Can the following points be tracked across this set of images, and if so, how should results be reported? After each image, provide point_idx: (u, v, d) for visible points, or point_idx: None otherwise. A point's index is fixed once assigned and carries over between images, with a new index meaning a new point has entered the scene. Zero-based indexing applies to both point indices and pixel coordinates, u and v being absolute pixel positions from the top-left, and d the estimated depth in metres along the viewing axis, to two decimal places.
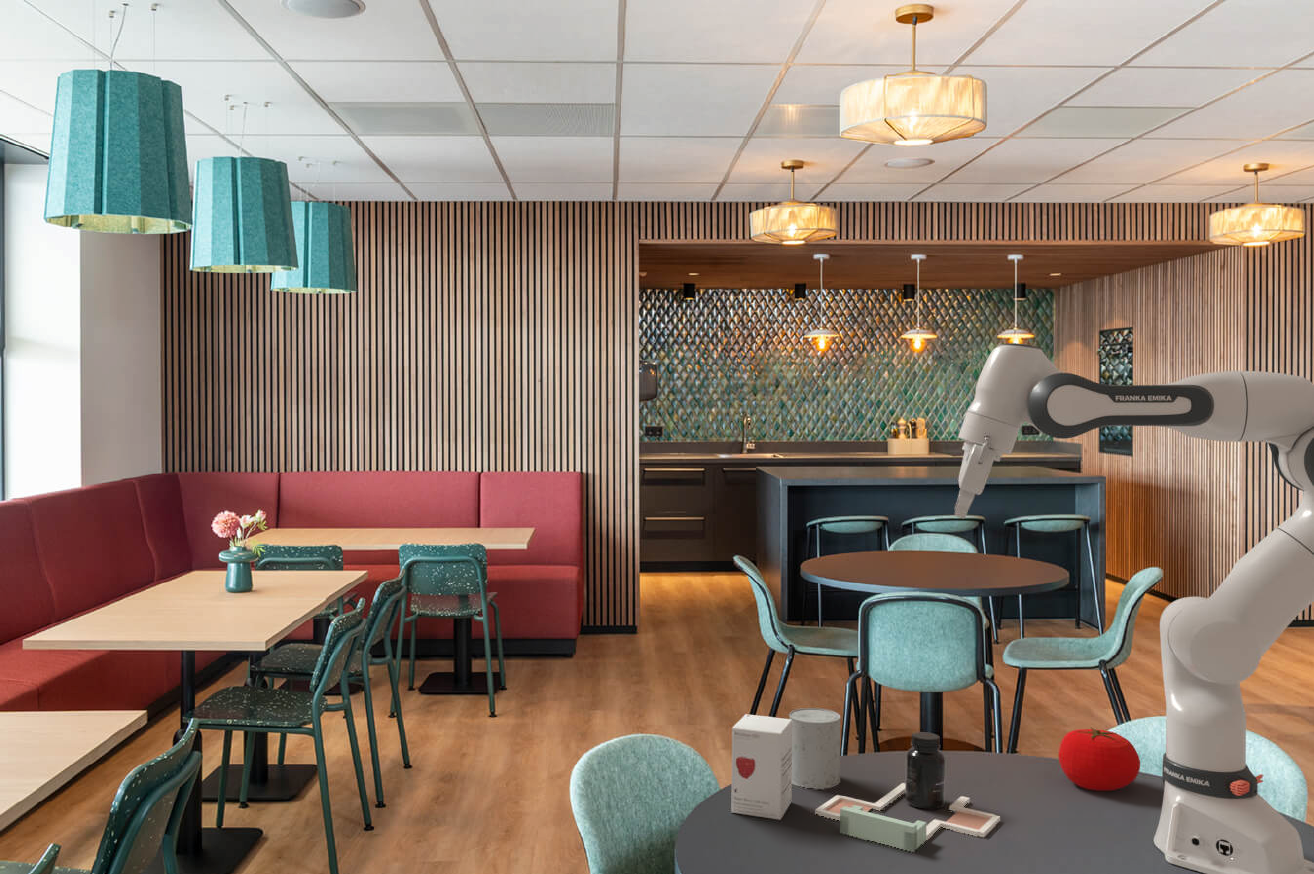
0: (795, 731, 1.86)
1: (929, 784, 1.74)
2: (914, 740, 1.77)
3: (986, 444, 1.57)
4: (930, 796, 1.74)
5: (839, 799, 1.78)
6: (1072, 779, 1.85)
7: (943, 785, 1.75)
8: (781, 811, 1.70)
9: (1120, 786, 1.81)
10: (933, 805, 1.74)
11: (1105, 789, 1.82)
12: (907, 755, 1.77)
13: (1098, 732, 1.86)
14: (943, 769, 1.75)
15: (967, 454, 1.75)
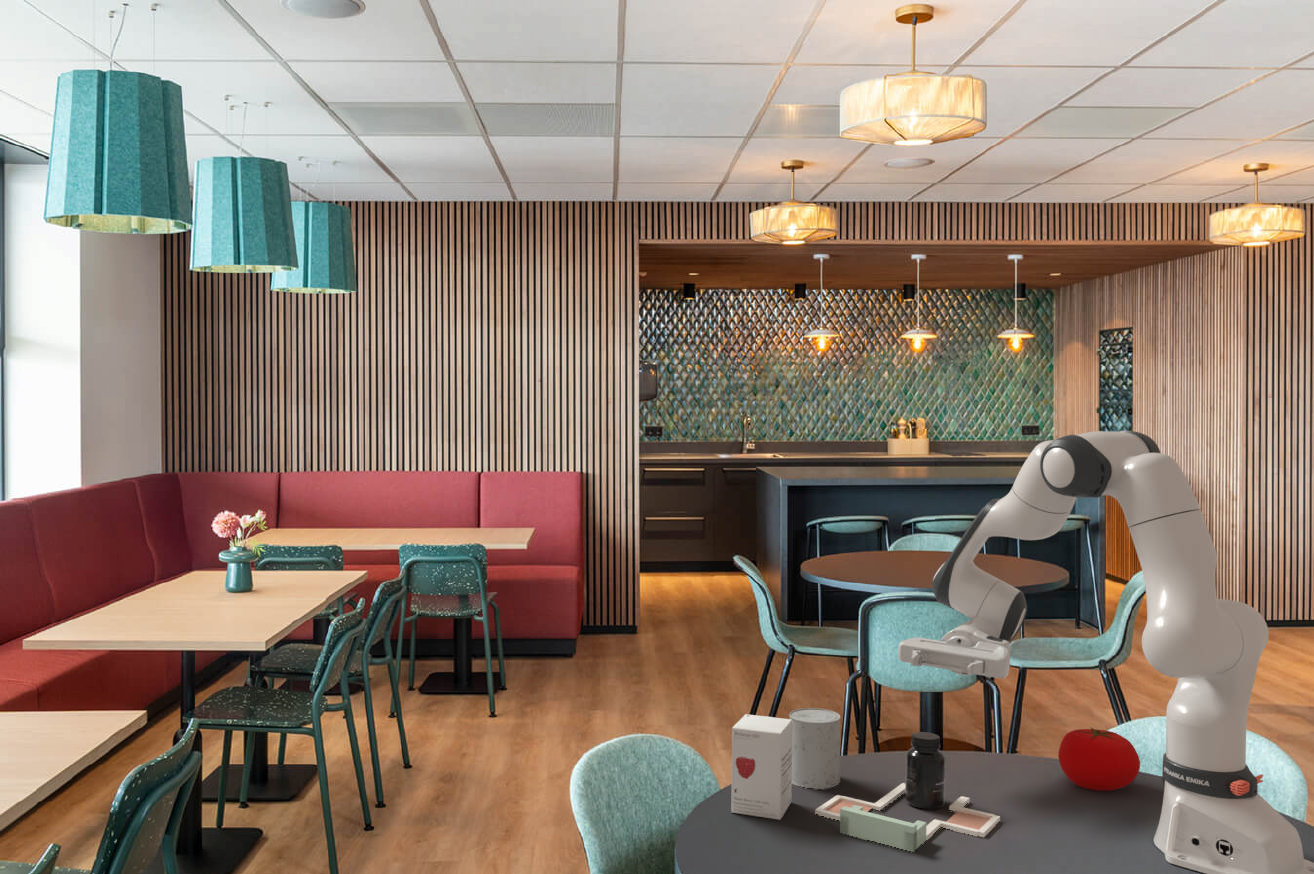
0: (795, 731, 1.86)
1: (929, 784, 1.74)
2: (914, 740, 1.77)
3: None
4: (930, 796, 1.74)
5: (839, 799, 1.78)
6: (1072, 779, 1.85)
7: (943, 785, 1.75)
8: (781, 811, 1.70)
9: (1120, 786, 1.81)
10: (933, 805, 1.74)
11: (1105, 789, 1.82)
12: (907, 755, 1.77)
13: (1098, 732, 1.86)
14: (943, 769, 1.75)
15: None
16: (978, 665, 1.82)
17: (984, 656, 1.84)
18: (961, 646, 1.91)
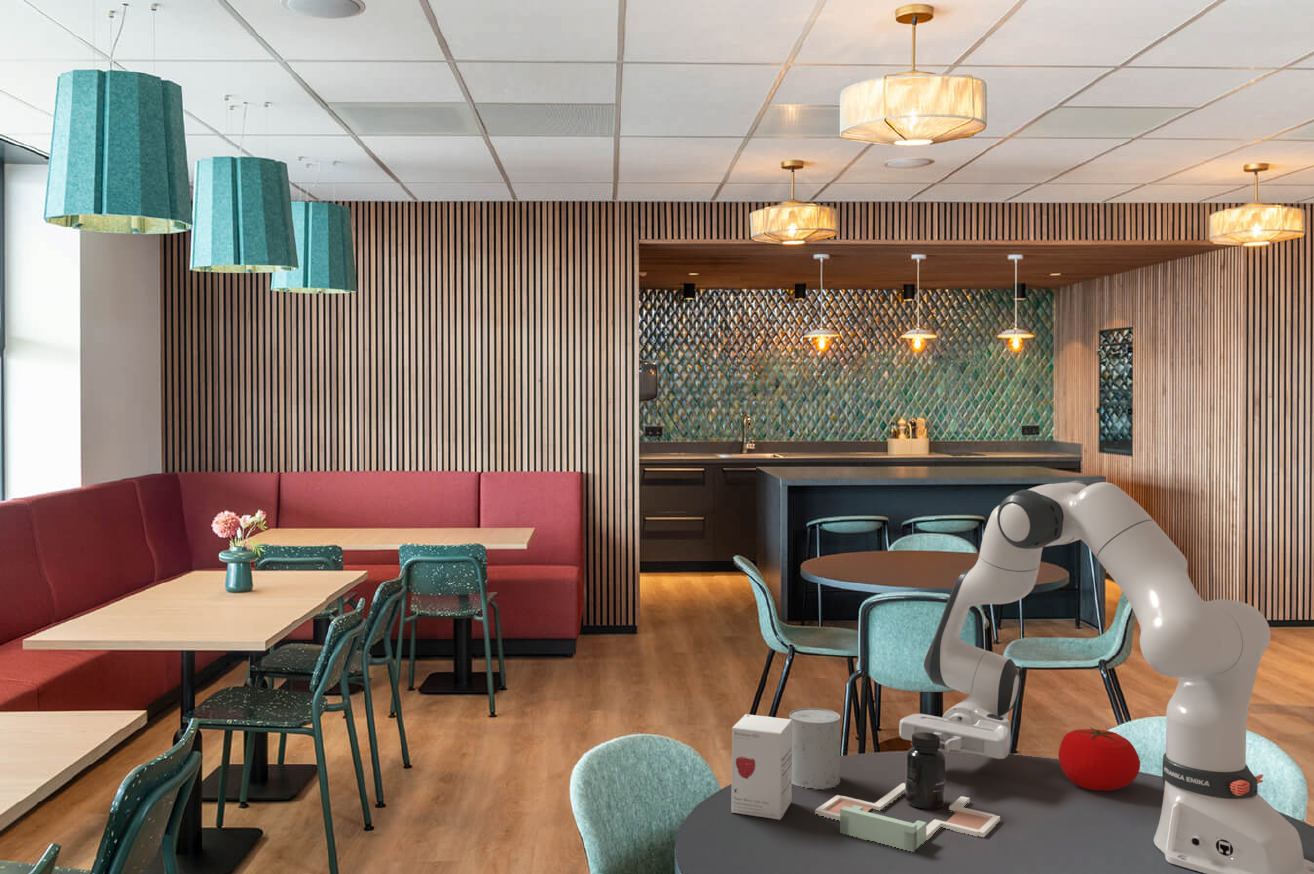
0: (795, 731, 1.86)
1: (929, 784, 1.74)
2: (914, 740, 1.77)
3: None
4: (930, 796, 1.74)
5: (839, 799, 1.78)
6: (1072, 779, 1.85)
7: (943, 785, 1.75)
8: (781, 811, 1.70)
9: (1120, 786, 1.81)
10: (933, 805, 1.74)
11: (1105, 789, 1.82)
12: (907, 755, 1.77)
13: (1098, 732, 1.86)
14: (943, 769, 1.75)
15: None
16: (956, 741, 1.85)
17: (983, 736, 1.84)
18: (962, 724, 1.92)
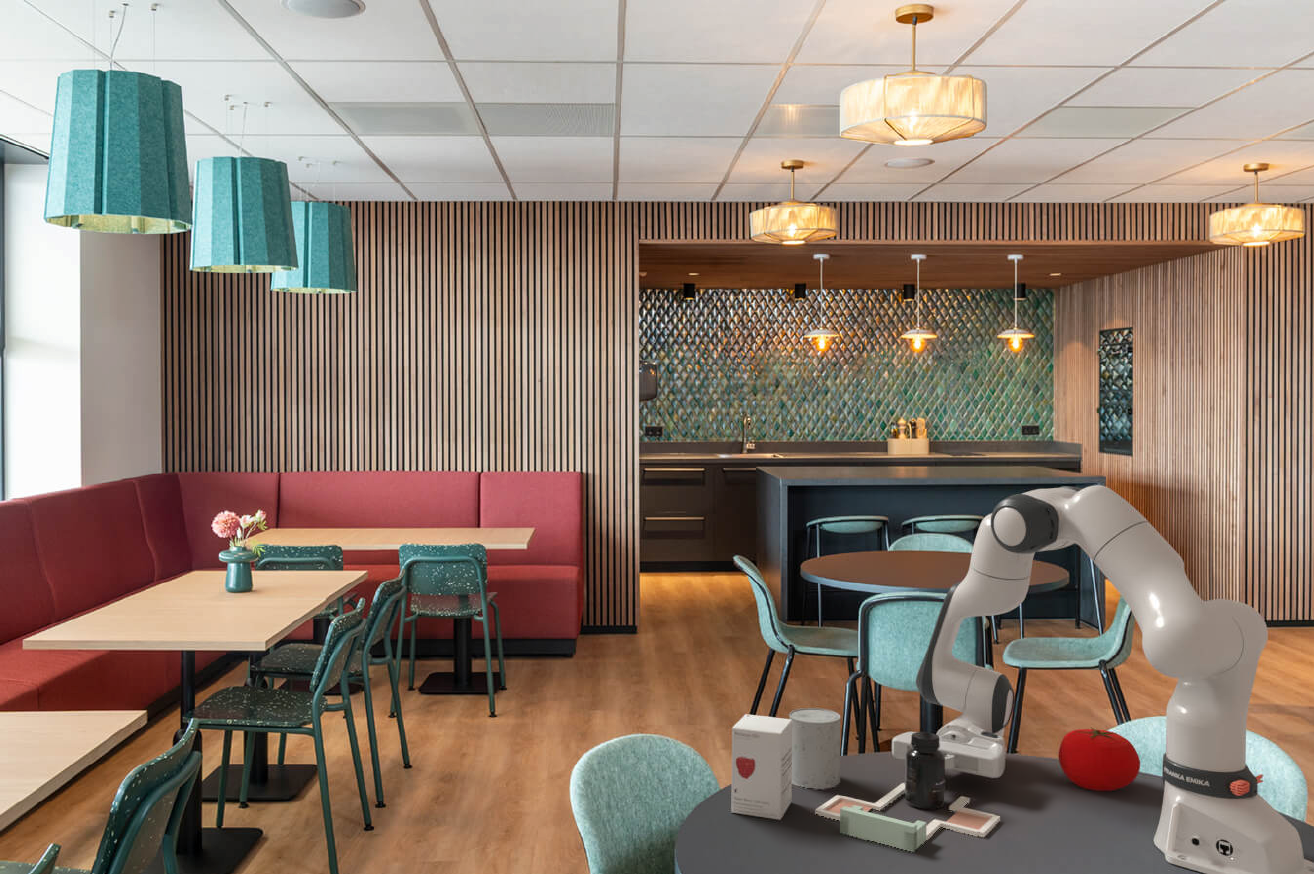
0: (795, 731, 1.86)
1: (929, 784, 1.74)
2: (914, 740, 1.77)
3: None
4: (930, 796, 1.74)
5: (839, 799, 1.78)
6: (1072, 779, 1.85)
7: (943, 785, 1.75)
8: (781, 811, 1.70)
9: (1120, 786, 1.81)
10: (933, 805, 1.74)
11: (1105, 789, 1.82)
12: (907, 755, 1.77)
13: (1098, 732, 1.86)
14: (943, 769, 1.75)
15: None
16: (949, 760, 1.81)
17: (977, 754, 1.81)
18: (955, 742, 1.88)
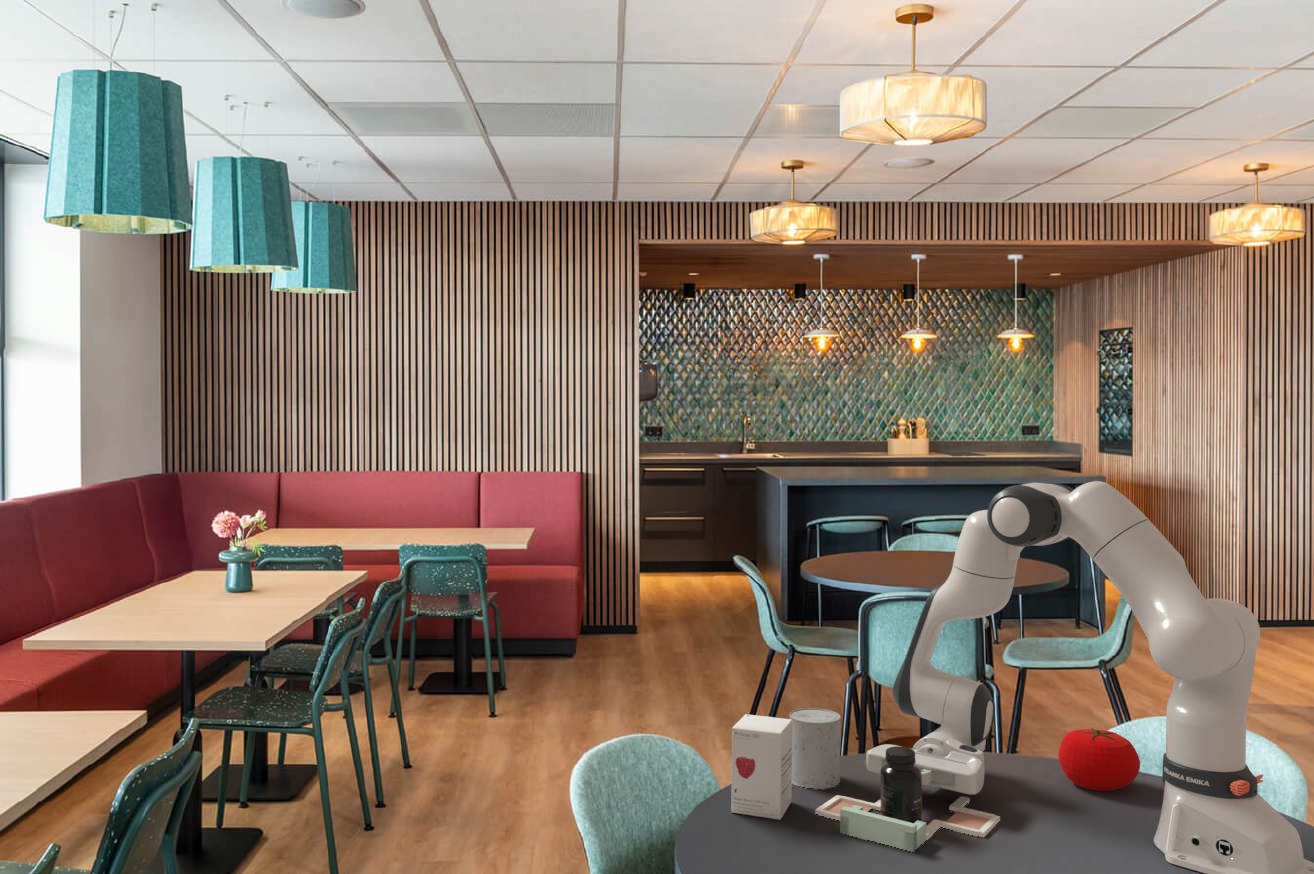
0: (795, 731, 1.86)
1: (907, 802, 1.65)
2: (889, 757, 1.67)
3: None
4: (909, 815, 1.66)
5: (839, 799, 1.78)
6: (1072, 779, 1.85)
7: (920, 801, 1.67)
8: (781, 811, 1.70)
9: (1120, 786, 1.81)
10: None
11: (1105, 789, 1.82)
12: (882, 773, 1.68)
13: (1098, 732, 1.86)
14: (920, 785, 1.67)
15: None
16: (925, 775, 1.73)
17: (954, 770, 1.72)
18: (932, 756, 1.79)
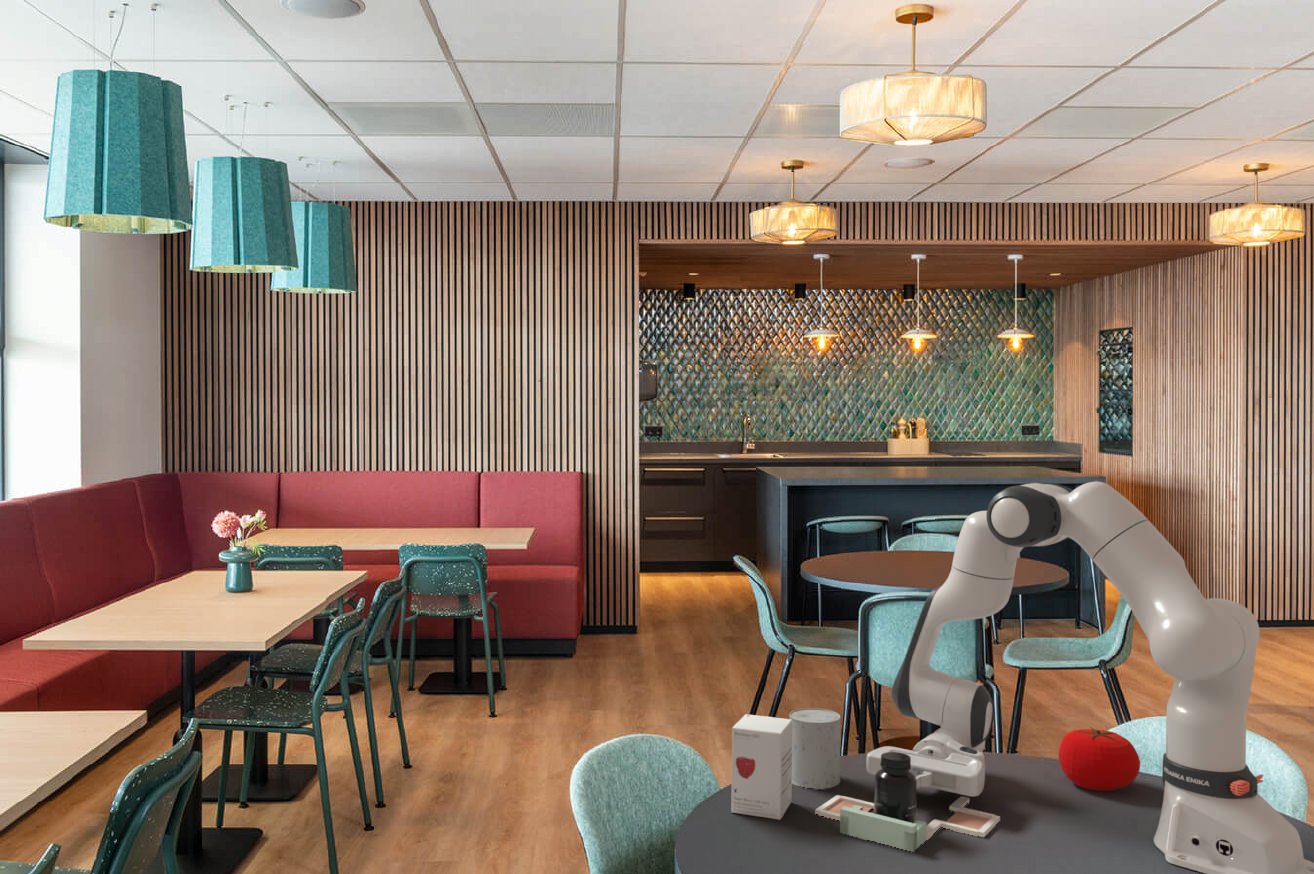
0: (795, 731, 1.86)
1: (901, 808, 1.63)
2: (884, 761, 1.66)
3: None
4: None
5: (839, 799, 1.78)
6: (1072, 779, 1.85)
7: (915, 808, 1.65)
8: (781, 811, 1.70)
9: (1120, 786, 1.81)
10: None
11: (1105, 789, 1.82)
12: (877, 778, 1.66)
13: (1098, 732, 1.86)
14: (915, 791, 1.65)
15: None
16: (926, 778, 1.72)
17: (955, 772, 1.72)
18: (933, 758, 1.79)
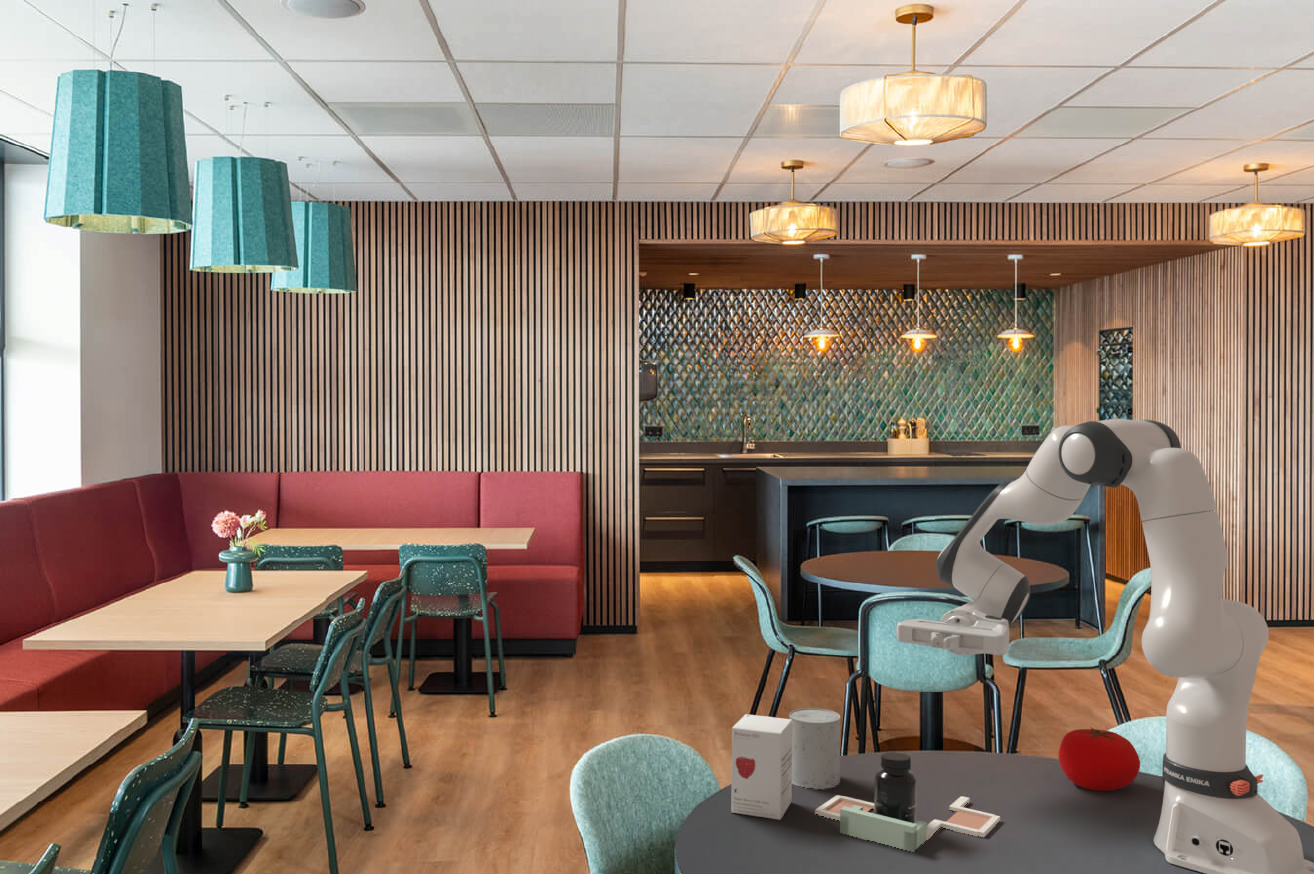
0: (795, 731, 1.86)
1: (901, 808, 1.63)
2: (884, 761, 1.66)
3: None
4: None
5: (839, 799, 1.78)
6: (1072, 779, 1.85)
7: (915, 808, 1.65)
8: (781, 811, 1.70)
9: (1120, 786, 1.81)
10: None
11: (1105, 789, 1.82)
12: (877, 778, 1.66)
13: (1098, 732, 1.86)
14: (915, 791, 1.65)
15: None
16: (954, 639, 1.82)
17: (982, 633, 1.82)
18: (960, 625, 1.89)
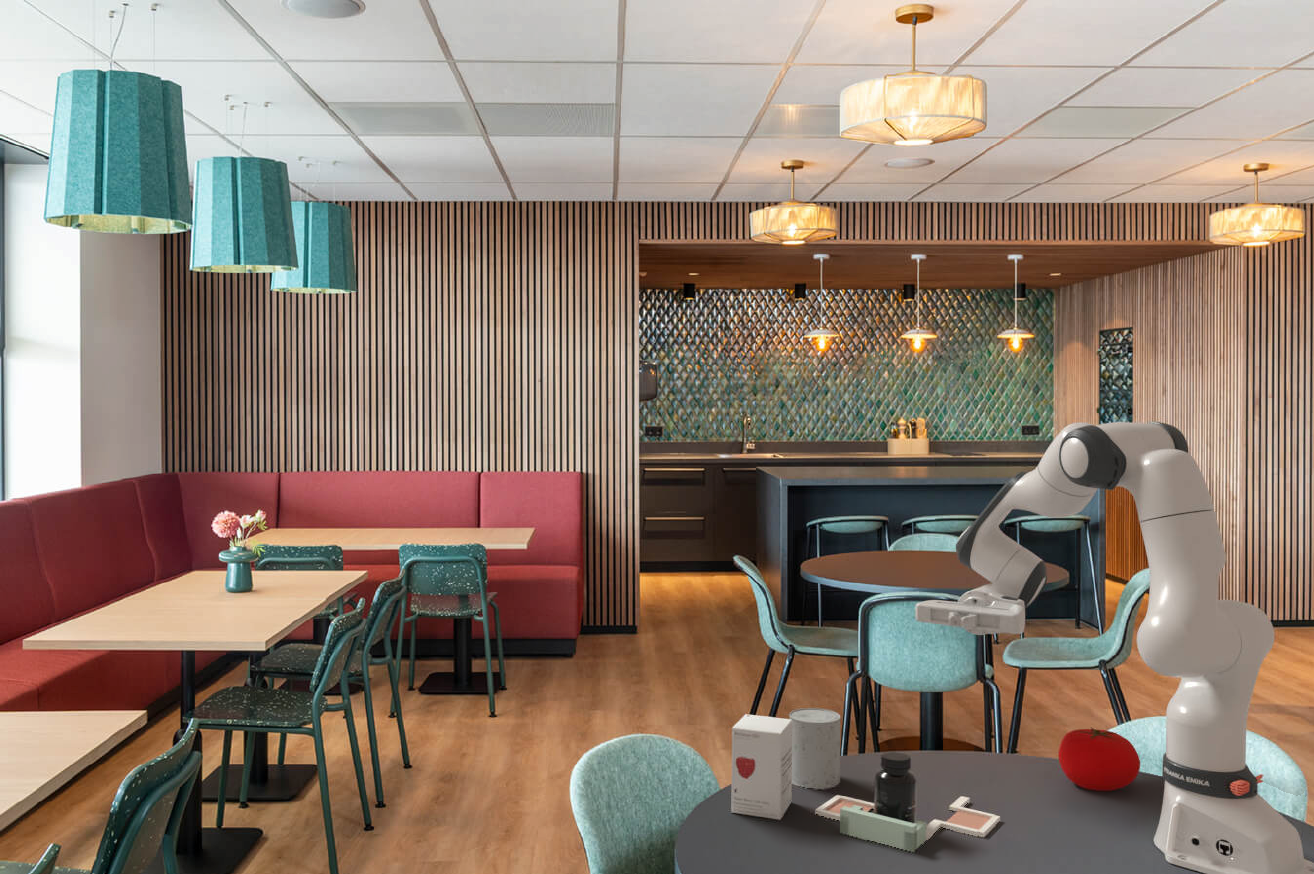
0: (795, 731, 1.86)
1: (901, 808, 1.63)
2: (884, 761, 1.66)
3: None
4: None
5: (839, 799, 1.78)
6: (1072, 779, 1.85)
7: (915, 808, 1.65)
8: (781, 811, 1.70)
9: (1120, 786, 1.81)
10: None
11: (1105, 789, 1.82)
12: (877, 778, 1.66)
13: (1098, 732, 1.86)
14: (915, 791, 1.65)
15: None
16: (972, 618, 1.89)
17: (998, 612, 1.88)
18: (977, 606, 1.95)
